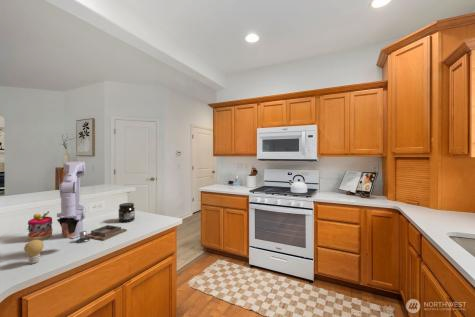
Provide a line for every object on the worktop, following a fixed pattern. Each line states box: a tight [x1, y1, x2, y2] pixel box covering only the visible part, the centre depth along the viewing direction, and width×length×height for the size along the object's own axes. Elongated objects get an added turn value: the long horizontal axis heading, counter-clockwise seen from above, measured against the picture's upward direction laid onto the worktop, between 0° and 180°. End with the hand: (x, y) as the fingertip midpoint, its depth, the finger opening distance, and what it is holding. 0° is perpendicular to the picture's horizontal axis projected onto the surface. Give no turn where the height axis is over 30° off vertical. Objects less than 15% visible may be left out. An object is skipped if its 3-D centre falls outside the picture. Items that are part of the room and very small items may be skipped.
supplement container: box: [118, 202, 136, 223], centre depth 156 cm, size 10×10×12 cm
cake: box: [27, 210, 53, 242], centre depth 124 cm, size 10×10×15 cm
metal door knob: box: [76, 230, 91, 244], centre depth 120 cm, size 6×6×5 cm
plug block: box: [61, 222, 76, 239], centre depth 109 cm, size 4×4×7 cm
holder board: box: [86, 224, 128, 241], centre depth 131 cm, size 15×16×3 cm
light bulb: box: [23, 240, 45, 265], centre depth 96 cm, size 6×6×10 cm
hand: (68, 232), depth 109 cm, fingers closed on plug block, 4 cm apart
